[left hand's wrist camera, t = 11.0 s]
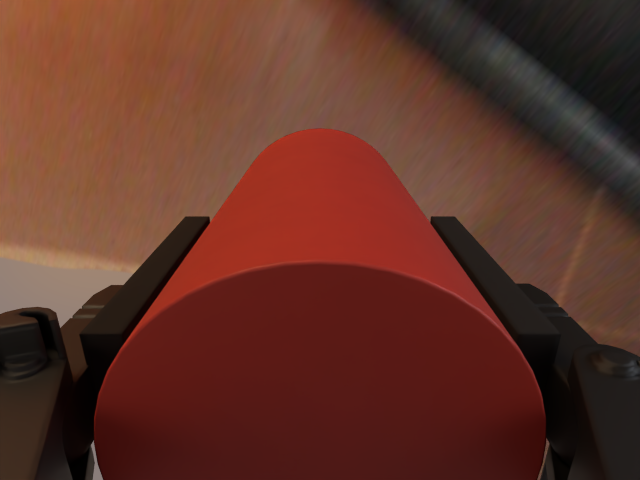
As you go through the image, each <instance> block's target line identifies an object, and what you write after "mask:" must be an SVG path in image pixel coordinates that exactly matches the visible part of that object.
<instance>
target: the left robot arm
mask: <svg viewBox="0 0 640 480" xmlns="http://www.w3.org/2000/svg"><path fill="white" fill-rule="evenodd" d="M209 224H210V219H209V217H185V218H184V219H183V220H182V221H181V222H180V223H179V224H178V226H177V227H176V228H175V229H174V230H173V231H172V232H171V233H170V234H169V235H168V237H167V238H166V239H165V240H164V241H163V242H162V243H161V244H160V245H159V247H158V248H157V249H156V250H155V251H154V252H153V253H152V254H151V255H150V256H149V258H148V259H147V260H146V261H145V262H144V263H143V264H142V265H141V266H140V267H139V269H138V270H137V271H136V272H135V273H134V274H133V275H132V276H131V277H130V278H129V280H128V281H127V282H126V283H125V284H124V285H111V286H109V287H107V288H105V289H103V290H102V291H100V292H98V293H96V294H94V295H93V296H92V297H91V298H90V299H89V300H88V301H87V302H86V303H85V304H84V305H83V306H82V309H79V310H78V311H77V312H76V313H75V314H74V315H73V318H70V319H69V320H68V321H67V322H66V323H65V324H64V325H63V326H62V327H61V328H60V326H59V322H58V318H57V315H56V312H54V311H52V310H51V309H48V308H41V307H31V308H22V309H17V310H13V311H9V312H5V313H2V314H0V480H92V479H93V472H94V464H95V462H94V456H93V452H92V448H91V444H92V442H93V440H94V416H95V411H96V405H97V400H98V394H99V392H100V389H101V386H102V384H103V381H104V378H105V376H106V373H107V371H108V369H109V367H110V366H111V364H112V362H113V360H114V359H115V357H116V355H117V354H118V352H119V350H120V349H121V347H122V346H123V344H124V343H125V342H126V340H127V339H128V337H129V336H130V335H131V333H132V332H133V330H134V329H135V328H136V326H137V325H138V323H139V322H140V321H141V319H142V318H143V316H144V315H145V314H146V312H147V311H148V309H149V308H150V307H151V305H152V304H153V302H154V301H155V300H156V298H157V297H158V295H159V294H160V292H161V291H162V290H163V288H164V287H165V285H166V284H167V283H168V281H169V280H170V278H171V277H172V276H173V274H174V273H175V271H176V270H177V269H178V267H179V266H180V264H181V263H182V262H183V260H184V259H185V257H186V256H187V255H188V253H189V252H190V250H191V249H192V248H193V246H194V245H195V243H196V242H197V241H198V239H199V238H200V236H201V235H202V234H203V232H204V231H205V229H206V228H207V226H208V225H209ZM430 224H431V225H432V226H433V228H434V229H435V231H436V232H437V233H438V235H439V236H440V238H441V239H442V240H443V242H444V243H445V245H446V246H447V247H448V249H449V250H450V252H451V253H452V254H453V256H454V257H455V259H456V260H457V261H458V263H459V264H460V266H461V267H462V268H463V270H464V271H465V273H466V274H467V275H468V277H469V278H470V280H471V281H472V282H473V284H474V285H475V287H476V288H477V289H478V291H479V292H480V294H481V295H482V296H483V298H484V299H485V301H486V302H487V303H488V305H489V306H490V308H491V309H492V311H493V312H494V313H495V315H496V316H497V318H498V319H499V320H500V322H501V323H502V325H503V326H504V327H505V329H506V330H507V332H508V333H509V334H510V336H511V337H512V339H513V340H514V341H515V343H516V344H517V346H518V347H519V348H520V350H521V352H522V353H523V355H524V357H525V358H526V360H527V362H528V363H529V365H530V367H531V369H532V370H533V373H534V375H535V378H536V380H537V383H538V386H539V388H540V391H541V394H542V399H543V404H544V409H545V415H546V438H547V439H548V441H549V443H550V444H549V448H548V452H547V455H546V459H545V463H544V467H543V471H542V475H541V478H540V480H640V357H639V356H637V355H634V354H632V353H630V352H628V351H625V350H623V349H620V348H616V347H613V346H609V345H602V344H597V343H596V342H595V341H594V340H593V339H592V338H591V337H590V336H589V335H588V334H587V333H586V332H585V331H584V330H583V329H582V328H581V327H580V326H579V325H578V324H577V323H576V322H575V321H574V320H573V319H572V318H571V317H568V314H567V313H566V312H565V311H564V310H563V309H562V308H561V307H559V305H558V304H557V303H556V302H555V301H554V300H553V299H552V298H551V297H550V296H549V295H548V294H547V293H545V292H543V291H542V290H540V289H538V288H536V287H534V286H532V285H531V284H515V283H514V281H513V280H512V279H511V278H510V277H509V276H508V275H507V274H506V273H505V272H504V270H503V269H502V268H501V267H500V266H499V265H498V264H497V263H496V262H495V261H494V259H493V258H492V257H491V256H490V255H489V254H488V253H487V252H486V251H485V249H484V248H483V247H482V246H481V245H480V244H479V243H478V242H477V241H476V240H475V238H474V237H473V236H472V235H471V234H470V233H469V232H468V231H467V230H466V229H465V227H464V226H463V225H462V224H461V223H460V222H459V221H458V220H457V219H456V218H455V217H431V221H430Z"/></svg>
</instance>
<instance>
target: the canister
mask: <svg viewBox="0 0 640 480" xmlns="http://www.w3.org/2000/svg"><path fill="white" fill-rule="evenodd" d="M94 445H95V451H96V456H97V462H98V466H99V469H100V472H101V474H102V477H103V480H537V478H538V475H539V472H540V469H541V466H542V463H543V458H544V452H545V446H546V415H545V409H544V404H543V399H542V394H541V391H540V388H539V386H538V383H537V380H536V378H535V375H534V373H533V370H532V369H531V367H530V365H529V363H528V362H527V360H526V358H525V357H524V355H523V353H522V352H521V350H520V348H519V347H518V346H517V344H516V343H515V341H514V340H513V339H512V337H511V336H510V334H509V333H508V332H507V330H506V329H505V327H504V326H503V325H502V323H501V322H500V320H499V319H498V318H497V316H496V315H495V313H494V312H493V311H492V309H491V308H490V306H489V305H488V303H487V302H486V301H485V299H484V298H483V296H482V295H481V294H480V292H479V291H478V289H477V288H476V287H475V285H474V284H473V282H472V281H471V280H470V278H469V277H468V275H467V274H466V273H465V271H464V270H463V268H462V267H461V266H460V264H459V263H458V261H457V260H456V259H455V257H454V256H453V254H452V253H451V252H450V250H449V249H448V247H447V246H446V245H445V243H444V242H443V240H442V239H441V238H440V236H439V235H438V233H437V232H436V231H435V229H434V228H433V226H432V225H431V224H430V222H429V221H428V219H427V218H426V217H425V215H424V214H423V212H422V211H421V210H420V208H419V207H418V205H417V204H416V202H415V201H414V200H413V198H412V197H411V195H410V194H409V193H408V191H407V190H406V188H405V187H404V186H403V184H402V183H401V181H400V180H399V179H398V177H397V176H396V174H395V173H394V172H393V170H392V169H391V167H390V166H389V165H388V163H387V162H386V161H385V159H384V158H383V157H382V156H381V155H380V153H378V152H377V151H376V150H375V149H374V148H373V147H372V146H370V145H369V144H368V143H366V142H365V141H363V140H361V139H359V138H357V137H356V136H354V135H351V134H348V133H345V132H342V131H337V130H332V129H307V130H303V131H298V132H295V133H292V134H289V135H286V136H285V137H283V138H281V139H279V140H277V141H275V142H274V143H273V144H271V145H270V146H268V147H267V148H266V149H265V150H264V151H263V152H262V153H261V154H260V155H259V156H258V157H257V158H256V160H255V161H254V162H253V163H252V165H251V166H250V168H249V169H248V170H247V172H246V173H245V175H244V176H243V177H242V179H241V180H240V182H239V183H238V184H237V186H236V187H235V189H234V190H233V191H232V193H231V194H230V196H229V197H228V198H227V200H226V201H225V203H224V204H223V205H222V207H221V208H220V210H219V211H218V212H217V214H216V215H215V217H214V218H213V219H212V221H211V222H210V224H209V225H208V226H207V228H206V229H205V231H204V232H203V234H202V235H201V236H200V238H199V239H198V241H197V242H196V243H195V245H194V246H193V248H192V249H191V250H190V252H189V253H188V255H187V256H186V257H185V259H184V260H183V262H182V263H181V264H180V266H179V267H178V269H177V270H176V271H175V273H174V274H173V276H172V277H171V278H170V280H169V281H168V283H167V284H166V285H165V287H164V288H163V290H162V291H161V292H160V294H159V295H158V297H157V298H156V300H155V301H154V302H153V304H152V305H151V307H150V308H149V309H148V311H147V312H146V314H145V315H144V316H143V318H142V319H141V321H140V322H139V323H138V325H137V326H136V328H135V329H134V330H133V332H132V333H131V335H130V336H129V337H128V339H127V340H126V342H125V343H124V344H123V346H122V347H121V349H120V350H119V352H118V354H117V355H116V357H115V359H114V360H113V362H112V364H111V366H110V367H109V369H108V371H107V373H106V376H105V378H104V381H103V384H102V386H101V389H100V392H99V394H98V400H97V405H96V411H95V416H94Z"/></svg>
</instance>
